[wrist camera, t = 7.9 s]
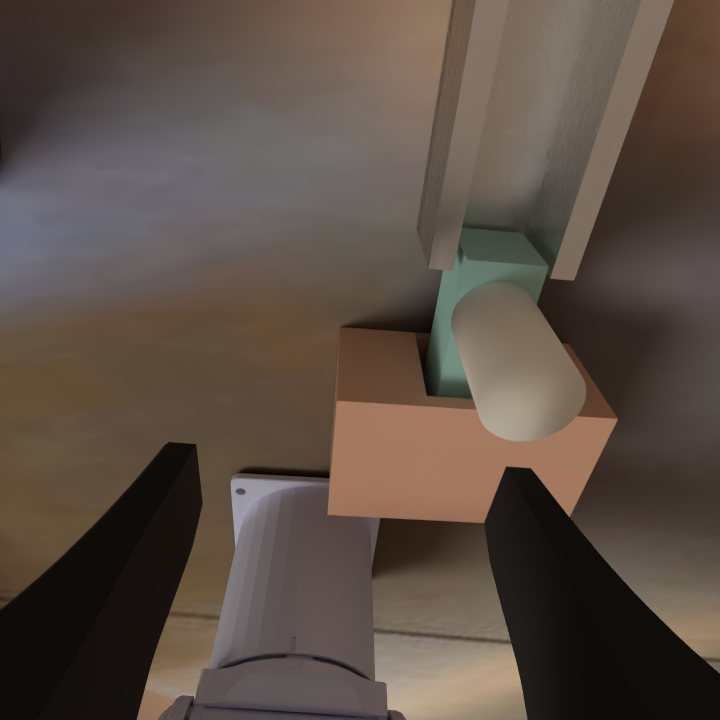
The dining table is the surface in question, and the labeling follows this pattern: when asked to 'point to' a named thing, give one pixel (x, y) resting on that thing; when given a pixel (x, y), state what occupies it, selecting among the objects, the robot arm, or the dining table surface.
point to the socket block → (438, 439)
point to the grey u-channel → (533, 120)
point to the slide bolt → (501, 340)
